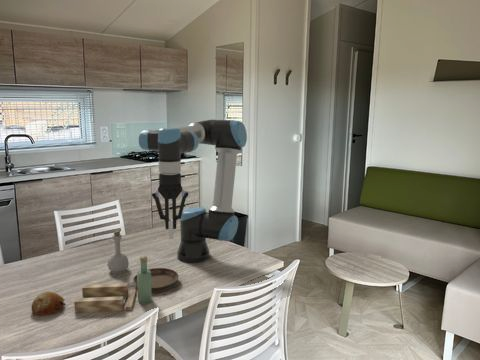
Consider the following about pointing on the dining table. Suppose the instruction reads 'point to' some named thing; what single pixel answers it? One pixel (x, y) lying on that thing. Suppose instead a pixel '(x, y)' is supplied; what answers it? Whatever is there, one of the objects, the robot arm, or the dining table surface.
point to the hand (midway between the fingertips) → (171, 237)
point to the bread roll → (47, 304)
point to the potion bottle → (117, 257)
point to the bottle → (144, 282)
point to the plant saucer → (161, 278)
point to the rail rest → (104, 298)
